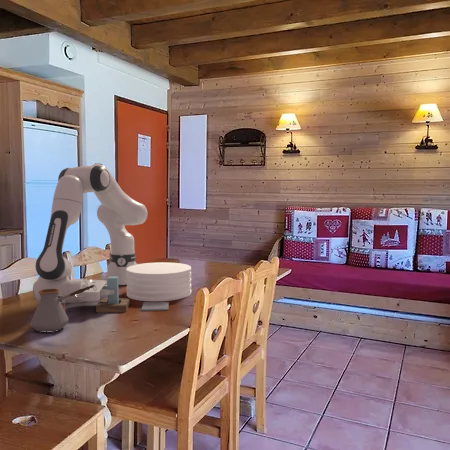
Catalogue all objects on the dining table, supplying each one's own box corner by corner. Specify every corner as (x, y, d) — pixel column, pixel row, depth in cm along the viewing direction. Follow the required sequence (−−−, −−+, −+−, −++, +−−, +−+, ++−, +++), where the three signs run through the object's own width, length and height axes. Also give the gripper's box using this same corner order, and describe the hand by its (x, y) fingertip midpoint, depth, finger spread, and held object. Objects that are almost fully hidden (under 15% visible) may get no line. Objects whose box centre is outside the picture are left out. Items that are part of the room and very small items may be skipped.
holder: (101, 304, 181) (101, 298, 181) (129, 304, 182) (129, 298, 182) (96, 312, 170) (96, 306, 170) (126, 311, 171) (126, 305, 171)
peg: (109, 307, 177) (108, 276, 176) (118, 306, 178) (118, 276, 177) (107, 309, 174) (107, 278, 173) (117, 309, 174) (117, 278, 173)
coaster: (143, 304, 182) (143, 302, 182) (168, 303, 183) (168, 302, 183) (141, 310, 172) (141, 309, 172) (168, 310, 173) (168, 308, 173)
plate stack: (154, 284, 220) (154, 260, 219) (203, 291, 205) (203, 265, 204) (112, 296, 196) (112, 269, 195) (164, 305, 181) (164, 276, 180)
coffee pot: (24, 334, 145) (22, 288, 143) (40, 323, 156) (39, 280, 155) (91, 335, 144) (89, 288, 142) (102, 324, 155) (101, 281, 154)
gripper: (71, 288, 163) (111, 288, 165) (83, 277, 184) (118, 276, 185) (72, 306, 164) (111, 305, 165) (84, 292, 184) (119, 292, 186)
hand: (115, 290), depth 175 cm, fingers closed on peg, 4 cm apart
